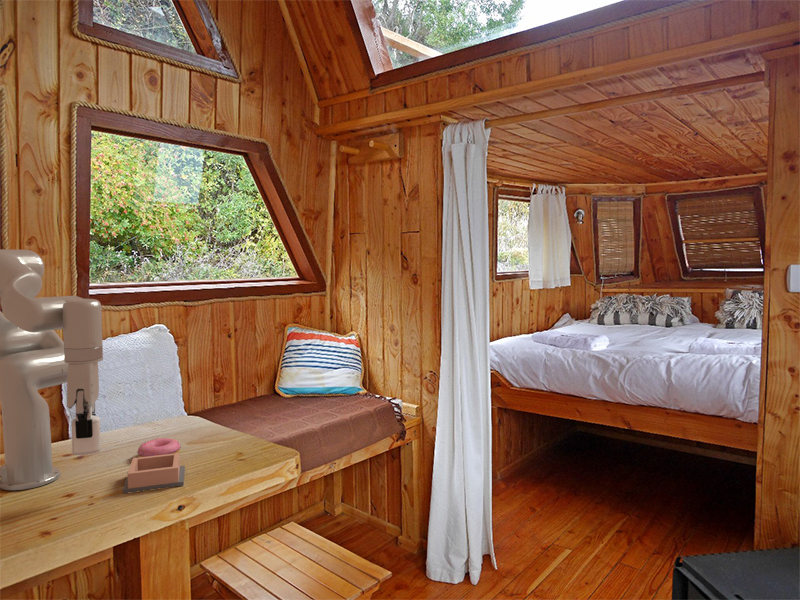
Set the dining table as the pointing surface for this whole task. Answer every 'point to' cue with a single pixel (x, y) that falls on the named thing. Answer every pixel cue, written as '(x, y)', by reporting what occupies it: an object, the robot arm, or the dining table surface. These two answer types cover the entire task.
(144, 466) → the socket stand
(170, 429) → the dining table surface
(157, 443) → the doughnut
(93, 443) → the squeeze bottle
